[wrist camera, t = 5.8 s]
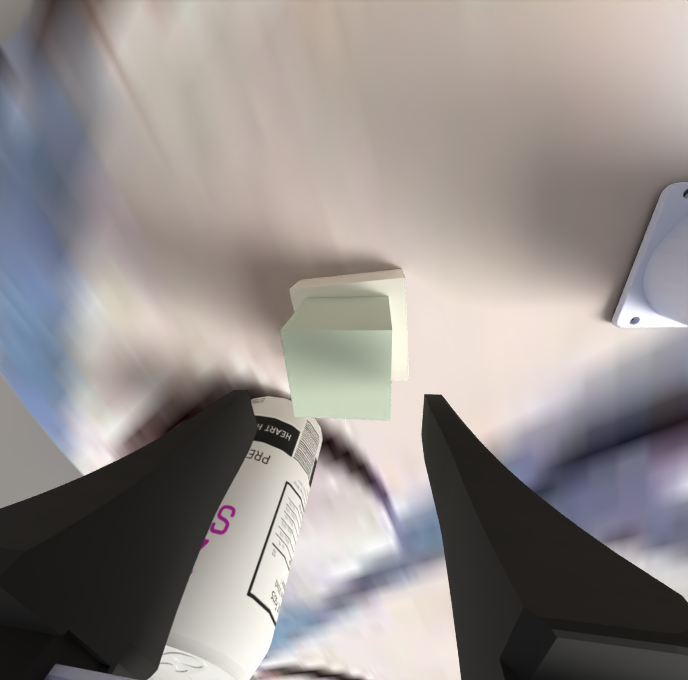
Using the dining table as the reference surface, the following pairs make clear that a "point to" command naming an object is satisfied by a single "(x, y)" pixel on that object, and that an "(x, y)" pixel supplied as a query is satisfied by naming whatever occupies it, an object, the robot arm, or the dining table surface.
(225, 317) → the dining table surface
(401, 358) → the cream box
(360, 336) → the green cube
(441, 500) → the robot arm
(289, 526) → the supplement can
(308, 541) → the dining table surface
